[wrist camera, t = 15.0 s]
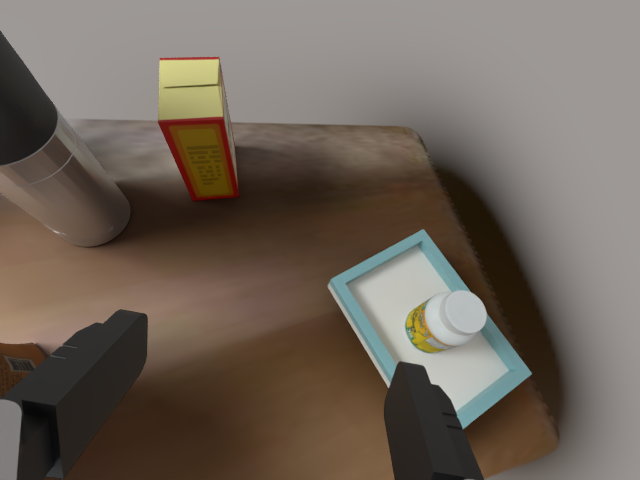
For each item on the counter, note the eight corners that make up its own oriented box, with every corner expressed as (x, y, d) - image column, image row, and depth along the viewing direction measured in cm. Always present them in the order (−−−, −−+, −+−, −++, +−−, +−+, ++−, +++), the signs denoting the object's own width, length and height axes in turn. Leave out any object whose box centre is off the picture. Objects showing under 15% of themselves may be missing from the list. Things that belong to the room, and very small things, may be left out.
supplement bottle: (441, 361, 39) (488, 352, 30) (397, 342, 39) (431, 326, 30) (452, 318, 41) (499, 297, 32) (410, 299, 41) (445, 274, 33)
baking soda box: (239, 197, 50) (222, 116, 36) (192, 200, 49) (156, 119, 35) (234, 145, 54) (218, 54, 40) (191, 148, 53) (158, 55, 38)
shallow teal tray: (324, 294, 46) (330, 279, 40) (406, 248, 50) (423, 228, 44) (412, 442, 39) (436, 450, 34) (498, 376, 44) (532, 373, 38)
